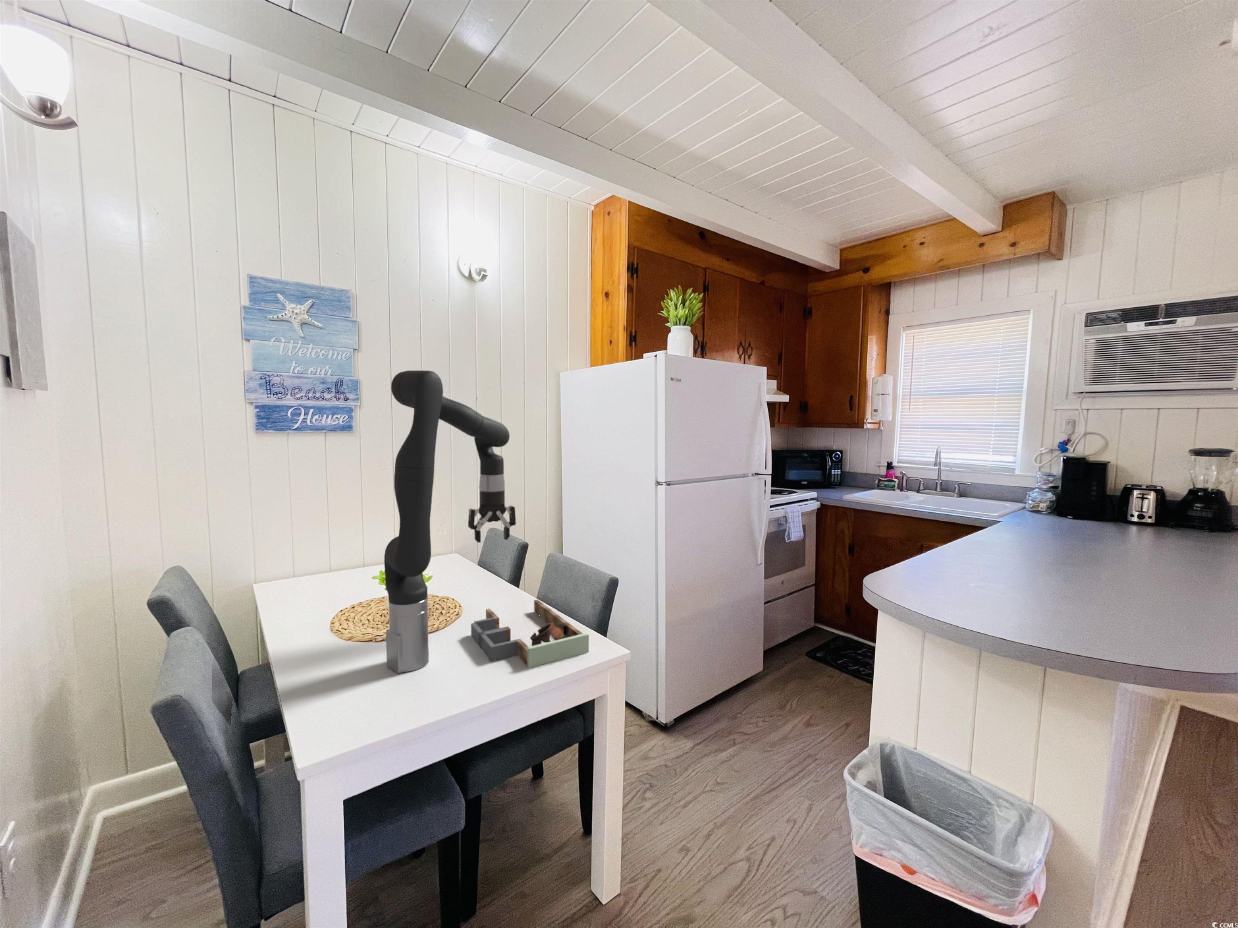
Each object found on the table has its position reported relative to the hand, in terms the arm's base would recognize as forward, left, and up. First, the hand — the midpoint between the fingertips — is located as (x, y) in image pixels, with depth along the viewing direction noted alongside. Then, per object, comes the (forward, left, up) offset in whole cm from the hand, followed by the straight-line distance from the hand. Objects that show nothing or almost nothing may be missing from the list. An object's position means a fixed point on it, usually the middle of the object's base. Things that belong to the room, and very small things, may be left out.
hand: (492, 540), depth 157 cm
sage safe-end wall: (-4, -34, -26) cm, 43 cm away
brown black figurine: (-1, -28, -26) cm, 39 cm away
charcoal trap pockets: (-10, -14, -26) cm, 31 cm away
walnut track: (+2, -17, -26) cm, 31 cm away
